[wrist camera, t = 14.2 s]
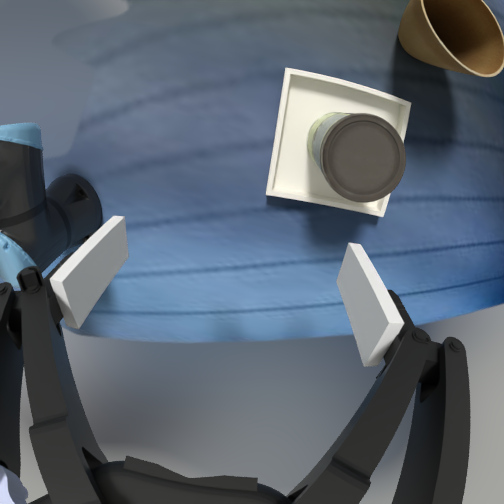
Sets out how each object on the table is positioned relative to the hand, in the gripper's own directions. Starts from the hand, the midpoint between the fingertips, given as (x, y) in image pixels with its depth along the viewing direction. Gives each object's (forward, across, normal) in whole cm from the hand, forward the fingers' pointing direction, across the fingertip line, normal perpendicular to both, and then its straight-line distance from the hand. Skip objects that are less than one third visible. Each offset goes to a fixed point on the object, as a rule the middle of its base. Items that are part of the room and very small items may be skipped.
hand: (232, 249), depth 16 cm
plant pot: (+30, +25, +27) cm, 47 cm away
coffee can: (+30, +13, +4) cm, 33 cm away
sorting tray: (+30, +13, +4) cm, 33 cm away
